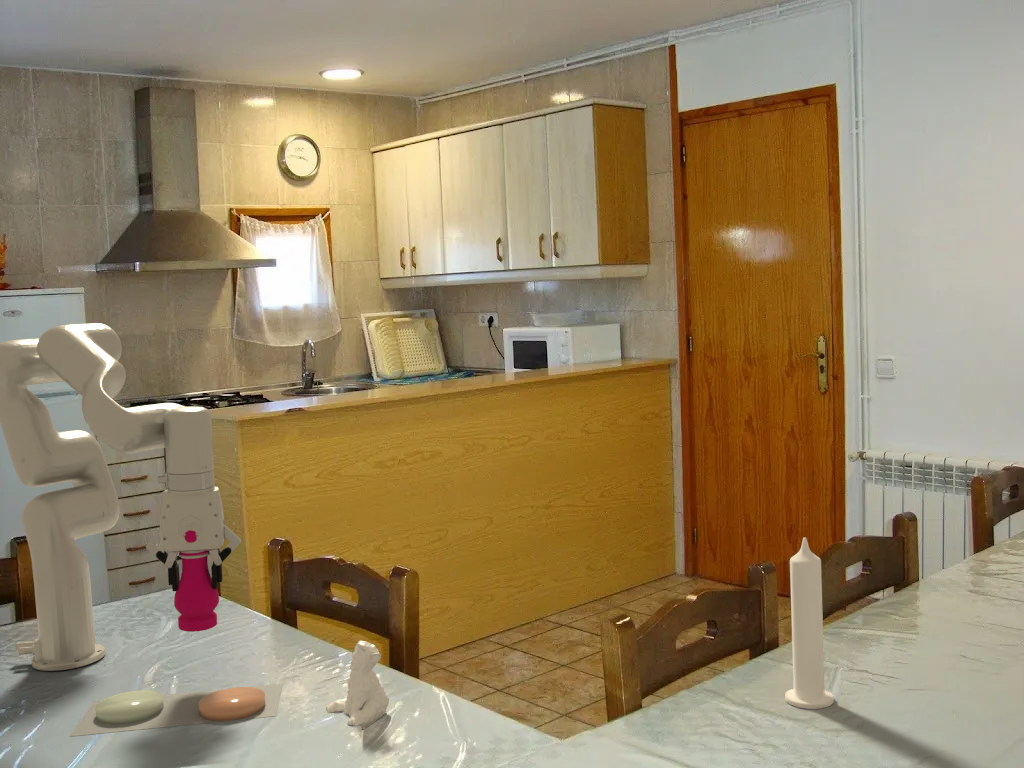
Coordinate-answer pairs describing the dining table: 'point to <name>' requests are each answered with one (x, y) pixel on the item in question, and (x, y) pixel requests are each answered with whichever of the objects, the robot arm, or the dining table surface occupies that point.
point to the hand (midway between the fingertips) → (196, 586)
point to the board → (174, 713)
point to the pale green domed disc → (129, 707)
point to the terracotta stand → (231, 703)
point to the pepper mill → (195, 591)
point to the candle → (807, 632)
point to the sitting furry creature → (363, 688)
